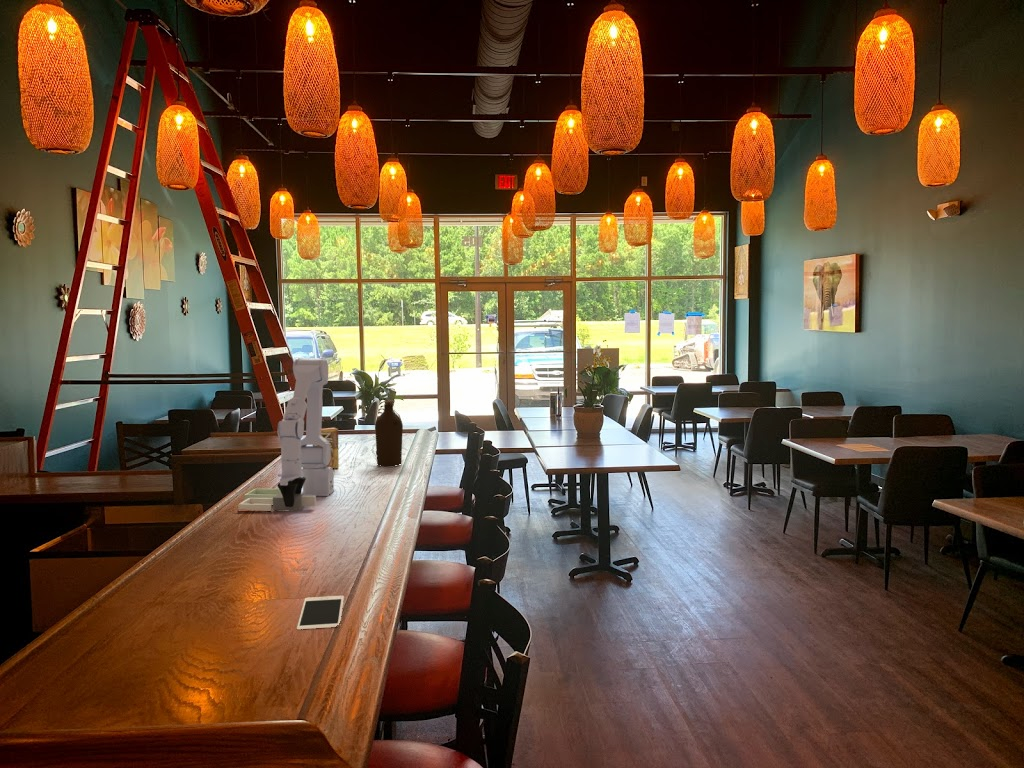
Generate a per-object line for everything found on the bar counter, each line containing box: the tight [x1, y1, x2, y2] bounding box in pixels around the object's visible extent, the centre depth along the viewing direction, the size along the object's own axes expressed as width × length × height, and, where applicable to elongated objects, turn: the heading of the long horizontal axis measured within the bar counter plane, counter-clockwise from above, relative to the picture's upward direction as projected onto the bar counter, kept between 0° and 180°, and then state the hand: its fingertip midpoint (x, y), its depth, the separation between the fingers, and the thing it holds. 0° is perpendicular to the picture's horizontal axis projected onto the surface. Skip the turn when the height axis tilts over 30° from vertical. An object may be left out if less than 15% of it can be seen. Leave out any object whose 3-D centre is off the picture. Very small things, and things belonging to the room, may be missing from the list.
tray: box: [243, 488, 282, 501], centre depth 240 cm, size 12×9×2 cm
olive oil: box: [374, 400, 404, 467], centre depth 297 cm, size 11×11×25 cm
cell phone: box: [296, 595, 345, 631], centre depth 149 cm, size 8×16×1 cm, turn 10°
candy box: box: [312, 427, 340, 469], centre depth 288 cm, size 9×4×15 cm, turn 129°
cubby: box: [237, 498, 273, 512], centre depth 229 cm, size 10×8×2 cm
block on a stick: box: [272, 494, 317, 512], centre depth 229 cm, size 12×5×4 cm, turn 88°
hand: (292, 504), depth 229 cm, fingers closed on block on a stick, 5 cm apart
